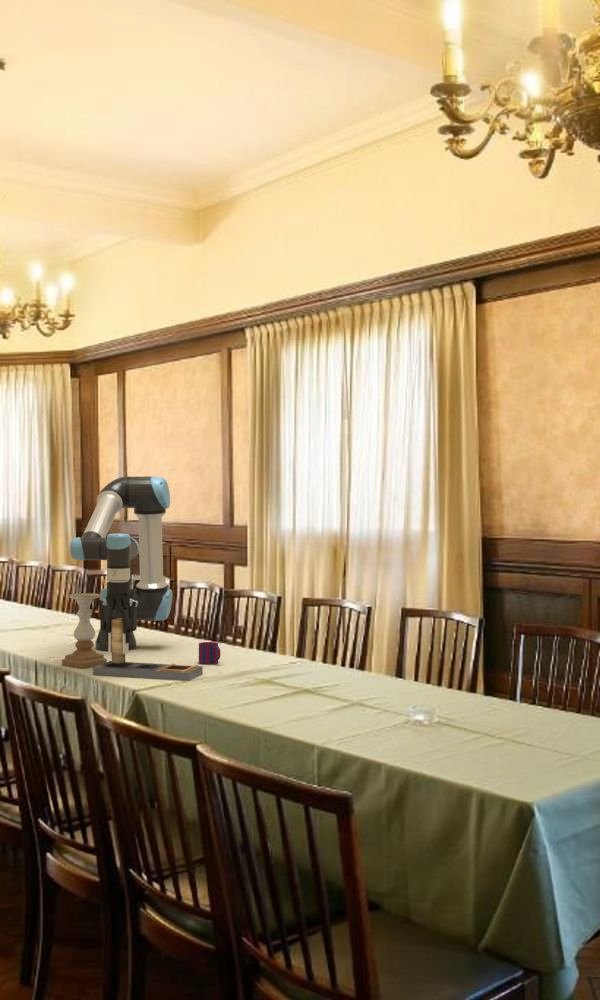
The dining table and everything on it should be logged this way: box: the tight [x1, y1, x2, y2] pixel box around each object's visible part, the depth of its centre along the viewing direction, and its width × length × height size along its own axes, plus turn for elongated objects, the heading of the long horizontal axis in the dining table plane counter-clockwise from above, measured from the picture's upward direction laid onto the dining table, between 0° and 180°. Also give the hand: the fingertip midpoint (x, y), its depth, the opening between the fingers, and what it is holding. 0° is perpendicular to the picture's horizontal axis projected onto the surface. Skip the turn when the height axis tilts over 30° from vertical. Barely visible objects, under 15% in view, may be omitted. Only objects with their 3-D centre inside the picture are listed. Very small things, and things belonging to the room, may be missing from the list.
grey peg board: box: [92, 660, 204, 682], centre depth 326 cm, size 12×33×3 cm, turn 74°
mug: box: [198, 641, 222, 666], centre depth 346 cm, size 7×10×7 cm
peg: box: [111, 618, 126, 663], centre depth 329 cm, size 4×4×14 cm
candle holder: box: [61, 592, 108, 669], centre depth 343 cm, size 11×11×24 cm
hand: (118, 652), depth 329 cm, fingers closed on peg, 4 cm apart
